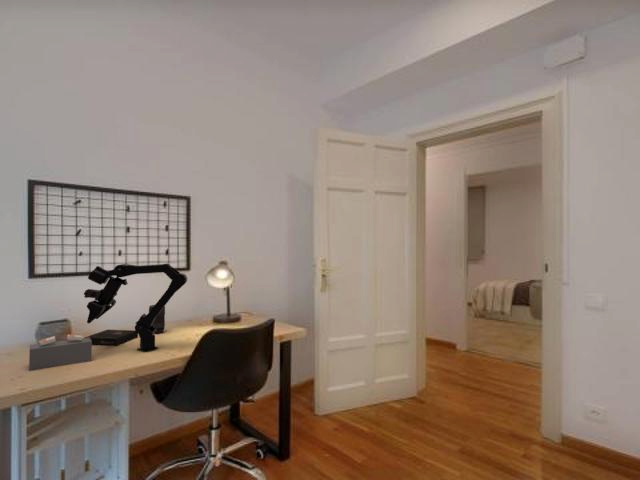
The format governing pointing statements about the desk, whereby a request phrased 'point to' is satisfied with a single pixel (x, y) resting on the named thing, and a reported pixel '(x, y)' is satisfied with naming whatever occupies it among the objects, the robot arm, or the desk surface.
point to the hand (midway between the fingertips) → (92, 320)
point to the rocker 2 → (74, 337)
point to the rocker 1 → (47, 340)
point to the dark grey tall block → (159, 320)
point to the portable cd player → (112, 337)
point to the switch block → (60, 353)
